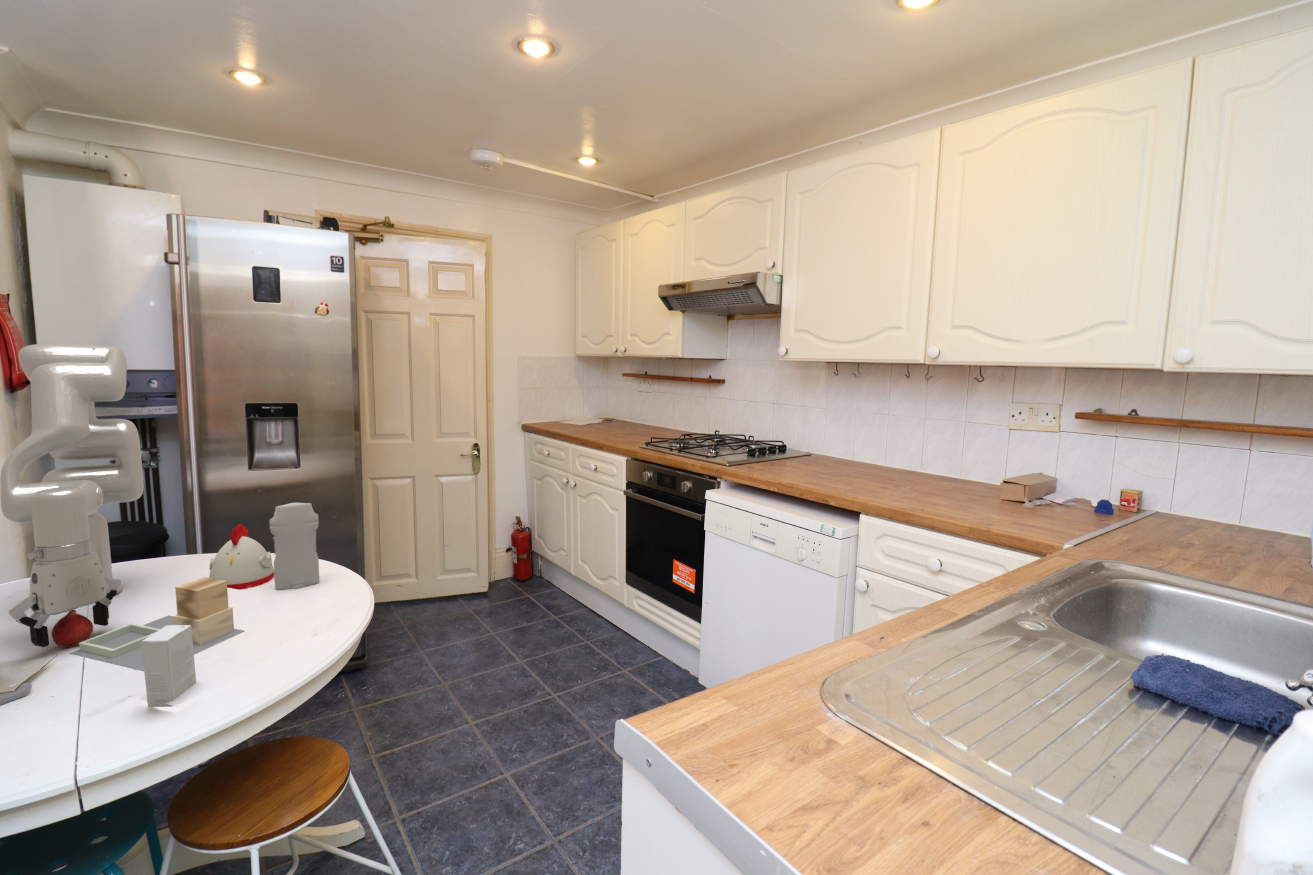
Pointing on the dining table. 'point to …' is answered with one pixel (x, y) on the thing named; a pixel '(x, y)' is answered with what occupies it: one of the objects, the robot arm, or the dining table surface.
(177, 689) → the skincare box
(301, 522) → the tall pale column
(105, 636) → the socket
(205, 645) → the board
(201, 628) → the brown rectangular block
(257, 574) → the kitchen timer
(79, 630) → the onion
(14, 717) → the dining table surface
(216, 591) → the cube
